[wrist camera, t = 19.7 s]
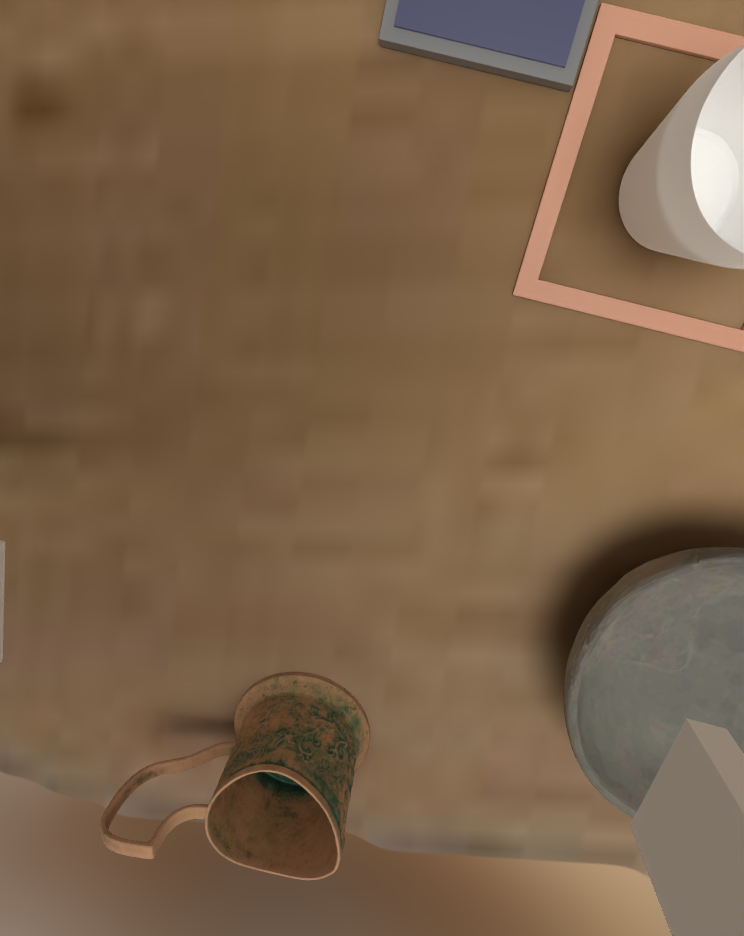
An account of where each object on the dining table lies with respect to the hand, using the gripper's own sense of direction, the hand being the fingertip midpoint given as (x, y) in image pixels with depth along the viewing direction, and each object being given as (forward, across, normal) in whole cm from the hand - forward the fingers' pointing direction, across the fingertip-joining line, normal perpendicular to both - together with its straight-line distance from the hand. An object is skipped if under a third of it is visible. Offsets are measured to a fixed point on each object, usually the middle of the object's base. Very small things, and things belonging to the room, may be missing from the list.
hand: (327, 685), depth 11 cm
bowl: (+29, +25, -12) cm, 40 cm away
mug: (+29, -4, -30) cm, 42 cm away
